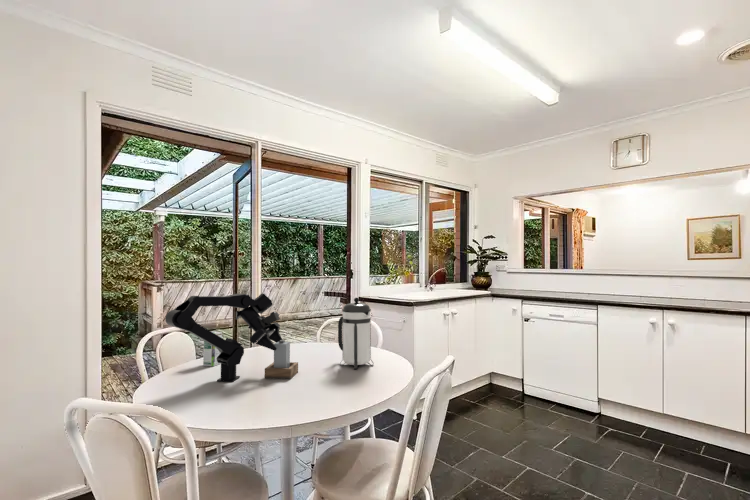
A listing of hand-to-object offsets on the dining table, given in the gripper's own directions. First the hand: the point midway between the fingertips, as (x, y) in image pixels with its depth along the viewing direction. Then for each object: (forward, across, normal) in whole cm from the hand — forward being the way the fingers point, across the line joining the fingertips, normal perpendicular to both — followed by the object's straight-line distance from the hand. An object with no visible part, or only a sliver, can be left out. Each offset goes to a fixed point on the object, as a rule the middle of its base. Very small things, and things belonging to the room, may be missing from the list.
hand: (279, 347), depth 156 cm
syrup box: (-18, +14, +34) cm, 41 cm away
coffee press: (+28, +19, -11) cm, 35 cm away
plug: (+8, 0, +7) cm, 10 cm away
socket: (+8, 0, +7) cm, 11 cm away
